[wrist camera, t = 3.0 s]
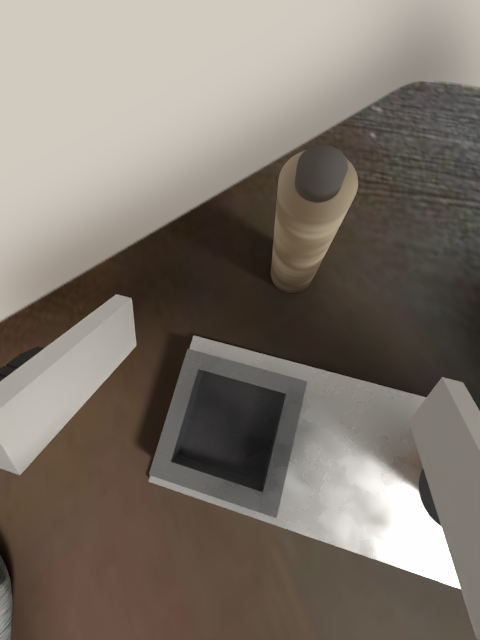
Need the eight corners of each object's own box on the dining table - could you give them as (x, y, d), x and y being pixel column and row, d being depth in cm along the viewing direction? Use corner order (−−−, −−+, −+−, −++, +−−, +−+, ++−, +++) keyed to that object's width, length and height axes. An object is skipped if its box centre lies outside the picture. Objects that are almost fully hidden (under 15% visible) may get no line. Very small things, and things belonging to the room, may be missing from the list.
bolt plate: (535, 427, 25) (881, 488, 11) (522, 606, 22) (949, 978, 8) (194, 336, 29) (133, 296, 15) (151, 479, 26) (28, 590, 12)
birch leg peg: (317, 258, 30) (372, 138, 15) (307, 297, 29) (357, 211, 14) (276, 249, 30) (290, 124, 15) (266, 287, 29) (270, 194, 15)
